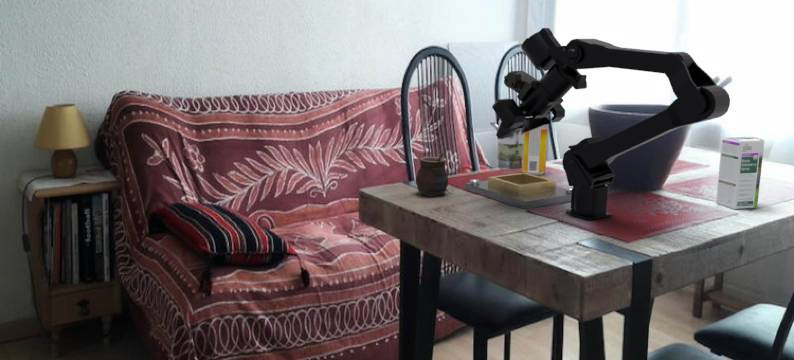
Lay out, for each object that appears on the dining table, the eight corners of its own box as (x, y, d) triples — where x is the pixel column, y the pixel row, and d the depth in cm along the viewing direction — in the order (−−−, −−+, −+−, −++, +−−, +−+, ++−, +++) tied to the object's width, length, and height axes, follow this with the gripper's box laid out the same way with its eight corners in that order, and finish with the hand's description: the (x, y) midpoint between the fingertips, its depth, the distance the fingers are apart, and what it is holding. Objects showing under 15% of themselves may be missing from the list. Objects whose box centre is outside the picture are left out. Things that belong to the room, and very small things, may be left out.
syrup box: (734, 210, 142) (742, 140, 139) (714, 203, 147) (721, 135, 144) (757, 208, 143) (766, 139, 140) (736, 201, 149) (744, 135, 146)
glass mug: (528, 166, 149) (530, 120, 147) (512, 170, 146) (514, 123, 144) (497, 161, 156) (498, 117, 153) (481, 164, 152) (482, 119, 150)
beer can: (543, 171, 179) (547, 113, 176) (546, 176, 173) (549, 116, 170) (520, 170, 179) (522, 113, 176) (521, 175, 173) (524, 116, 170)
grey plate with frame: (580, 199, 149) (581, 183, 149) (523, 208, 141) (524, 192, 140) (518, 182, 166) (519, 167, 165) (465, 189, 158) (465, 174, 157)
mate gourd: (430, 188, 159) (432, 145, 156) (455, 194, 153) (457, 150, 151) (408, 193, 154) (409, 149, 151) (433, 200, 148) (435, 154, 146)
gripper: (556, 56, 148) (512, 104, 158) (501, 58, 136) (458, 110, 146) (586, 96, 144) (539, 142, 154) (532, 102, 132) (486, 151, 142)
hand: (506, 135), depth 149 cm, fingers closed on glass mug, 5 cm apart
